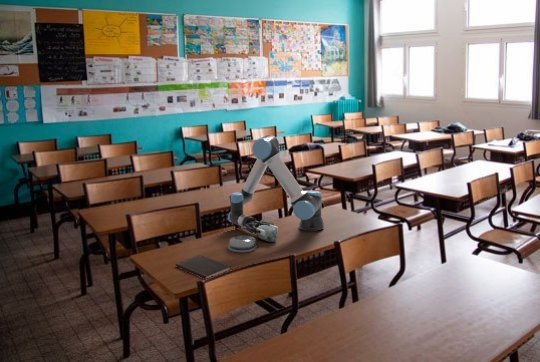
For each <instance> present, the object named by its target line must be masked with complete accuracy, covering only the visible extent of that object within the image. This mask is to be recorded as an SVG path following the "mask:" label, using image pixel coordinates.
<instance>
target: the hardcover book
mask: <svg viewBox="0 0 540 362" xmlns="http://www.w3.org/2000/svg"><path fill="white" fill-rule="evenodd" d="M176 266H177V267H179V268H182V269H184V270H186V271H188V272H187V273H189V272H191V273H193V274H195V275H198V276H200V277H202V278H204V279H203V280H205V279H206V278H208V279H210V278H212V277H211V276H213V277H215V276H217V275H220V274H223V273H225V272H228V271H230V268H231V266H230V265H227V264H225V263H222V262H220V261H217V260H214V259H212V258H210V257H207V256H204V255H202V254H199V255H196V256H193V257H189V258H187V259H185V260H182V261H179V262H176V263H175V267H176ZM177 267H176V268H177ZM179 268H178V269H179ZM182 269H181V270H182ZM184 270H183V271H184ZM186 271H185V272H186ZM191 273H190V274H191ZM193 274H192V275H193ZM195 275H194V276H195ZM198 276H197V277H198ZM200 277H199V278H200ZM209 277H210V278H209ZM202 278H201V279H202ZM206 280H207V279H206Z"/></svg>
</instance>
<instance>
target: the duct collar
mask: <svg viewBox="0 0 540 362" xmlns="http://www.w3.org/2000/svg"><path fill="white" fill-rule="evenodd" d="M227 249H228V251H229V252H231V253H234V254H235V253H237V254H249V253H252V252H255V251H256V250H257V249H258V243H256V238H255V237H253V236H251V235H236V236H233V237H231V238H230V239H229V244H228V245H227Z"/></svg>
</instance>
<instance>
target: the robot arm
mask: <svg viewBox="0 0 540 362" xmlns="http://www.w3.org/2000/svg"><path fill="white" fill-rule="evenodd" d="M279 148H280V142H279V140H278V138H277V137H276V136H274V135H271V134H267V135H264V136H262V137H259V138H257V139H256V140H255V141H254V142H253V144H252V147H251V150H252V154H253V156H254V157H255V158H257V159H256V161H255V163H254V164H253V167H251V168H252V169H251V171H250V172H249V174H248V176H247V178H246V181H245V183H244V185H243V187H242V188H241V190H240V191H237V192H232V193H231V194H230V212H229V213H228V215H227V220H228V222H230V223H232V224H234V225H236V226H239V227H242V228H243V229H244V230H246V231H247V232H249V233H250V234H253V233H254V235H257V233H259V234H261V235H264V236H265V231H264V230H262V229H259V228H258V227H259V226H261V225H268V226H271V227H273V228H275V229H276V231H277V233H278V232H279V226H276V225H274V224H275V223H274V222H270V221H265V220H262V219H261V220H260V221H258V220H256V218H254V217H253V216H250V215H247V214H245V213H244V206H245V205H246V204H248V203H250V202H251V201H252V200H253V198H254V193H255V191H256V189H257V187H258V185H259V183H260V182H261V179H262V177H263V176H264V173H265V172H266V169H267V167H268V168H269V170H270V171H271V172H272V174H273V175H274V177H275V178H276V180H277V181H278V182H279V184H280V186H281V187H282V189H284V191H285V192H286V194H287V196H288V197H289V200H290V202H289V203H290V205H291V206H292V208H293V209H292V210H293V212H292V213H294V216H295V217H296V218H297V219H299V220H300V221H299V223H298V228H299V230H301V229H302V230H301V231H303V230H305V231H304V232H308V231H316V232H319V231H318V230H321V229H323V228H324V229H325V224H324V220H323V217H322V204H323V203H322V202H323V201H322V199H323V197H322V192H321V191H318V190H304V189H303V188H302V187H301V186H300V184H299V183H298V181H297V180H296V179H295V177H294V176H293V174H292V173H291V171H290V170H289V168H288V166H287V165H286V164H285V162H284V161H283V159H282V157H281V156H280V155H281V152H280V149H279ZM324 229H323V230H324ZM321 231H322V230H321Z"/></svg>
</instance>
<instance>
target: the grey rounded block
mask: <svg viewBox="0 0 540 362" xmlns="http://www.w3.org/2000/svg"><path fill="white" fill-rule="evenodd" d="M258 228H259V229H262V230H264V231H265V236H264V235H261V234H259V233H256V235H257V237H258V238H259V239H260V240H262V241H265V242H270V243H274V242H276V241H277V240H278V232H277V231H276V229H275V228H273V227H271V226H268V225H261V226H259V227H258Z"/></svg>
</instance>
